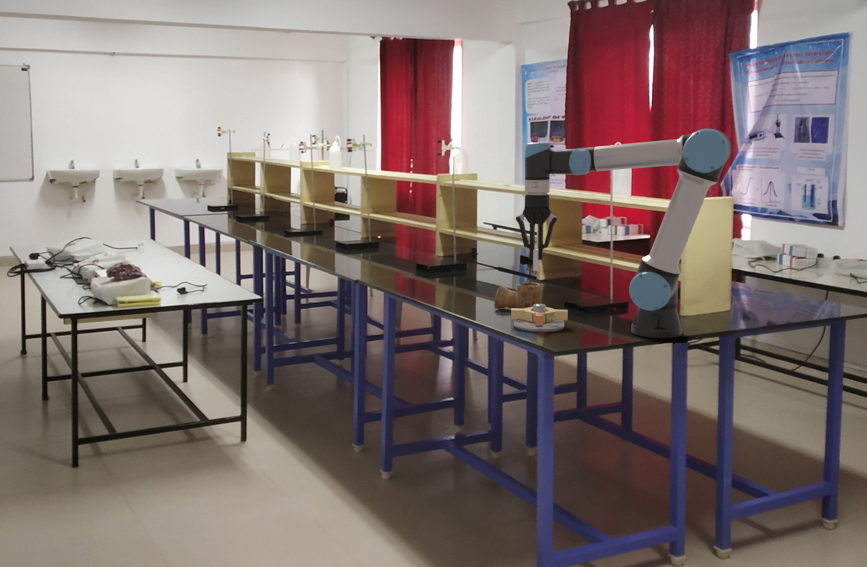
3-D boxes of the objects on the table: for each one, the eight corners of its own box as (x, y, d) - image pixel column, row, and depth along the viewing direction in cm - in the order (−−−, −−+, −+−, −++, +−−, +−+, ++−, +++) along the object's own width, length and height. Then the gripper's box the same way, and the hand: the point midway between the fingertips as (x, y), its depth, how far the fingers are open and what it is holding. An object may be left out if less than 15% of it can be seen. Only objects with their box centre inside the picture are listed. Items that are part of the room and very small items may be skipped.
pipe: (500, 306, 304) (500, 279, 302) (544, 310, 298) (545, 282, 297) (492, 311, 296) (493, 283, 294) (537, 315, 290) (538, 286, 288)
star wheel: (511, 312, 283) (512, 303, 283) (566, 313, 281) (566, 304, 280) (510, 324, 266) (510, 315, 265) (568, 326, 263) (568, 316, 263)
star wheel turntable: (515, 320, 283) (516, 299, 282) (564, 321, 280) (564, 300, 279) (512, 331, 267) (512, 309, 266) (563, 333, 265) (564, 311, 263)
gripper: (513, 194, 257) (513, 271, 261) (557, 194, 253) (555, 272, 257) (517, 192, 264) (517, 267, 268) (559, 193, 260) (558, 269, 265)
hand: (536, 270), depth 263 cm, fingers closed
